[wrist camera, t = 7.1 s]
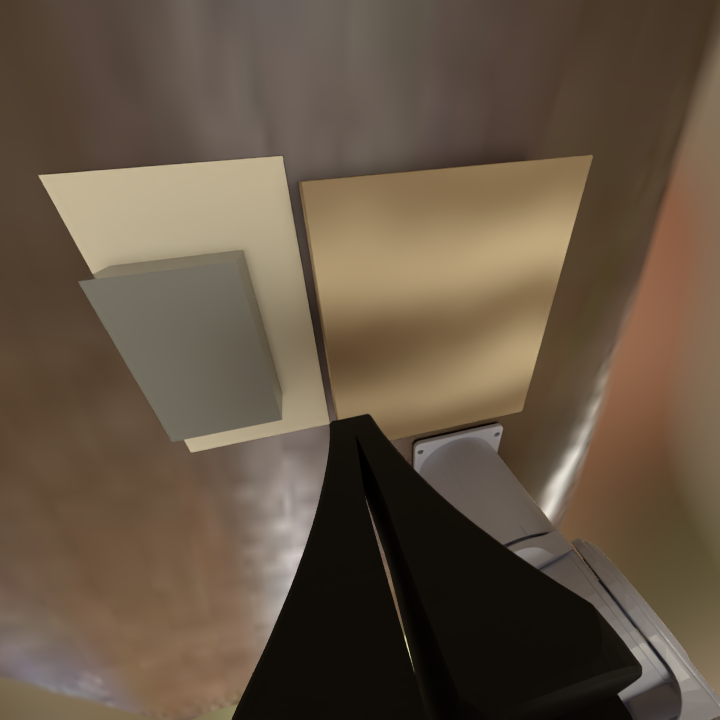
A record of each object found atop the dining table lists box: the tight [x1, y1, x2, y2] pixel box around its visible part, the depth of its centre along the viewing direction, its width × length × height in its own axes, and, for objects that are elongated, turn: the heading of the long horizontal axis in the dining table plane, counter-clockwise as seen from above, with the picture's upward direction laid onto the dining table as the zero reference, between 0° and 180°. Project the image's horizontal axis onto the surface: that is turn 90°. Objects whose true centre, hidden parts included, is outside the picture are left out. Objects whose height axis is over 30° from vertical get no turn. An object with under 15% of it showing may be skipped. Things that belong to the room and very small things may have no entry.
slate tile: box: [78, 250, 283, 442], centre depth 16 cm, size 9×6×2 cm, turn 4°
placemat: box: [39, 156, 330, 452], centre depth 17 cm, size 16×10×1 cm, turn 4°
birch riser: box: [298, 155, 593, 440], centre depth 17 cm, size 14×12×4 cm
